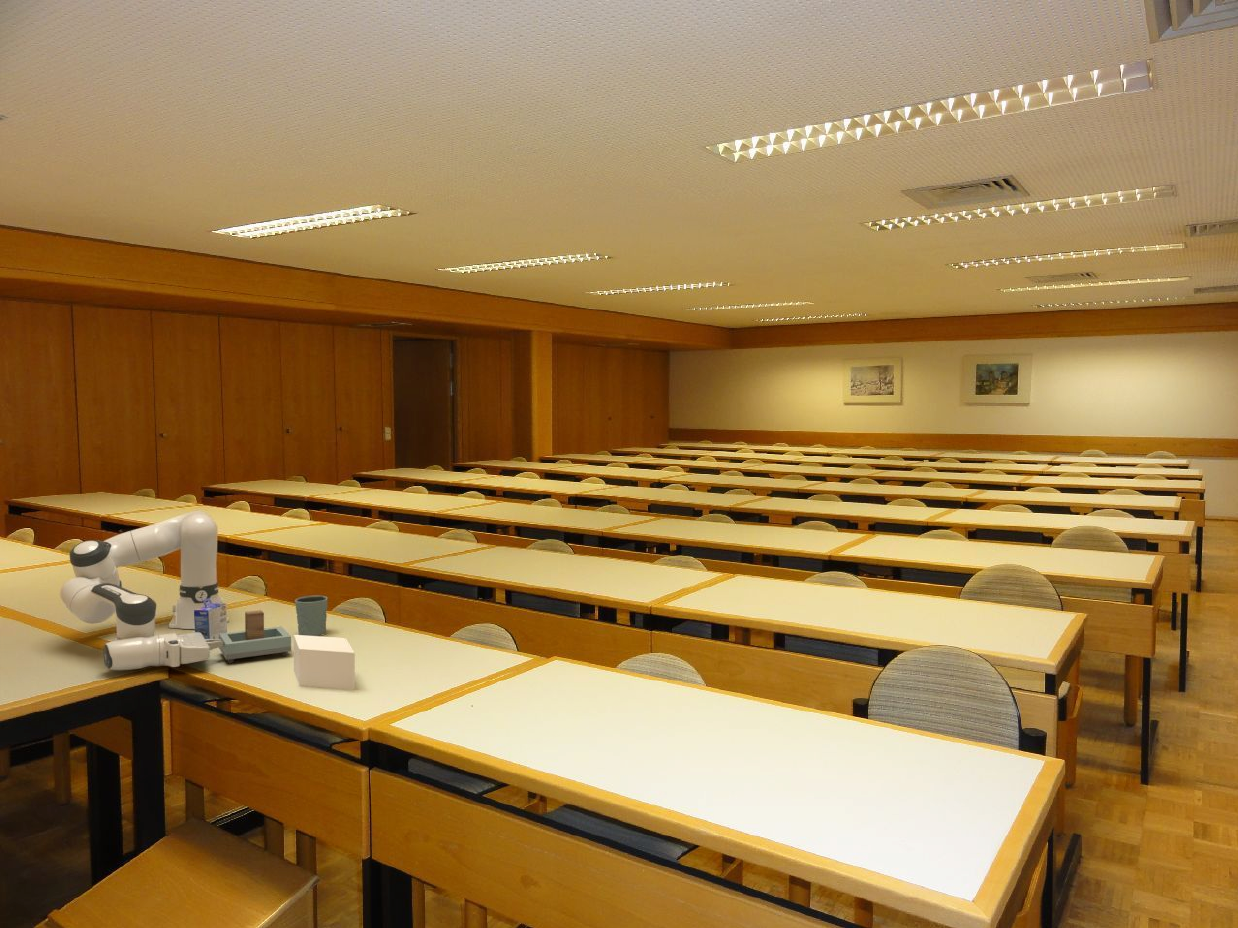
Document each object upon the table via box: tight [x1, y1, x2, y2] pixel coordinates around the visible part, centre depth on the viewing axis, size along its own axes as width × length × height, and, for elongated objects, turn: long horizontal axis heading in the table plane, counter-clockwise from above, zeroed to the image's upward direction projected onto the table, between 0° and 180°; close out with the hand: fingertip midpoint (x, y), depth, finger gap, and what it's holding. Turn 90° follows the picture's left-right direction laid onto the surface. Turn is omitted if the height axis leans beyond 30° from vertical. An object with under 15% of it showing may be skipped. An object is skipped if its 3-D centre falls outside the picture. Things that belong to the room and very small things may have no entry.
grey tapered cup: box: [294, 595, 328, 636], centre depth 279 cm, size 10×10×12 cm
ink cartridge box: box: [194, 598, 228, 640], centre depth 265 cm, size 10×6×14 cm, turn 174°
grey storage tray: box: [218, 626, 292, 664], centre depth 254 cm, size 14×18×6 cm
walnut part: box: [244, 609, 265, 640], centre depth 254 cm, size 4×4×10 cm
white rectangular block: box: [293, 634, 356, 691], centre depth 232 cm, size 14×29×10 cm, turn 53°
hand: (222, 642), depth 248 cm, fingers closed, pressing on grey storage tray
